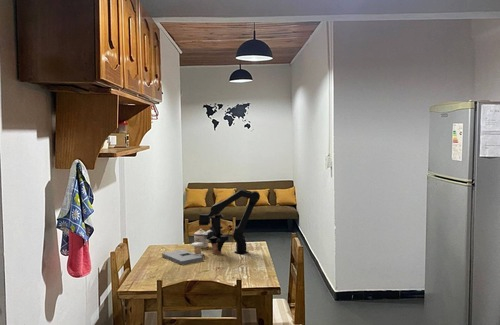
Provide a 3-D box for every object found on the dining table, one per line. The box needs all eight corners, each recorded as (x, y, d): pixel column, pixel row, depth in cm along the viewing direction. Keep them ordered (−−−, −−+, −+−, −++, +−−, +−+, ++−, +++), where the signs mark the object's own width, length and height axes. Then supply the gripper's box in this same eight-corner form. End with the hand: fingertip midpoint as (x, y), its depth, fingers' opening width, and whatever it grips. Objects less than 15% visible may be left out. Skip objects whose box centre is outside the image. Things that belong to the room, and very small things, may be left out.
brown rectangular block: (221, 253, 286) (221, 243, 285) (215, 254, 283) (214, 244, 283) (218, 252, 288) (218, 242, 288) (212, 253, 285) (212, 243, 285)
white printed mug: (191, 247, 304) (190, 229, 303) (202, 244, 310) (201, 227, 309) (203, 249, 295) (202, 231, 295) (214, 247, 302) (213, 229, 301)
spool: (205, 255, 281) (205, 243, 281) (195, 257, 277) (195, 245, 277) (199, 253, 287) (199, 241, 287) (189, 254, 283) (189, 243, 282)
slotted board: (203, 260, 269) (203, 257, 269) (181, 264, 261) (181, 261, 261) (183, 252, 288) (183, 249, 288) (162, 256, 280) (162, 253, 280)
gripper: (196, 224, 287) (197, 250, 288) (213, 229, 272) (213, 255, 273) (212, 222, 294) (212, 247, 295) (228, 226, 279) (229, 252, 280)
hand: (216, 250), depth 285 cm, fingers open, 6 cm apart
